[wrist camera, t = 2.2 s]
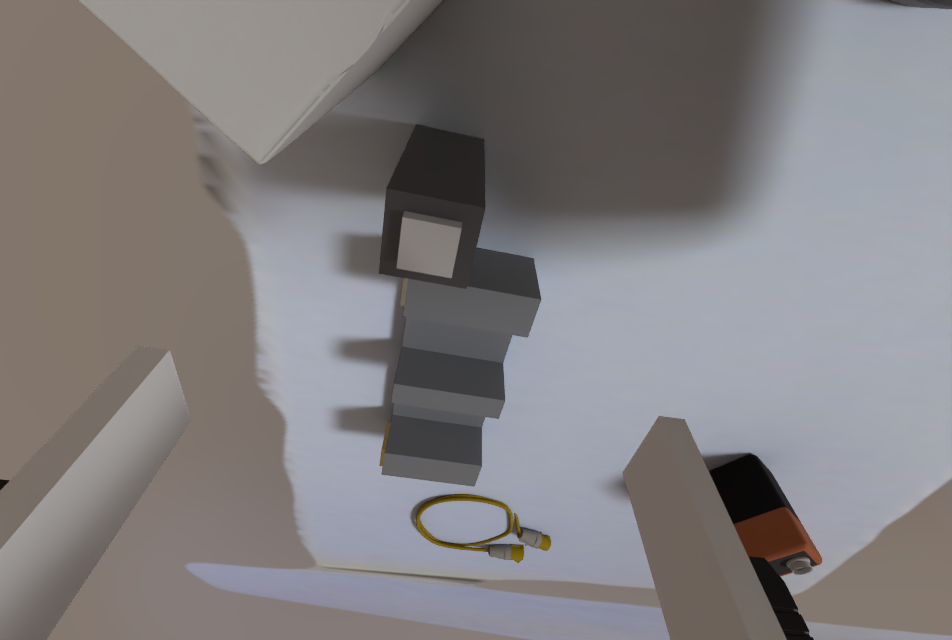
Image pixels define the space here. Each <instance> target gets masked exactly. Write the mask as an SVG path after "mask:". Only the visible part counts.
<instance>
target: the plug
mask: <svg viewBox="0 0 952 640" xmlns="http://www.w3.org/2000/svg"><path fill="white" fill-rule="evenodd" d="M484 211H485V151H484V139H480V138H476V137H471V136H466V135H462V134H457V133H453V132H448V131H444V130H439V129H435V128H430V127H425V126H421V125H416V126H415V128H414V131H413V133H412V135H411V137H410V139H409V141H408V143H407V146H406V148H405V150H404V152H403V154H402V156H401V158H400V161H399V163H398V165H397V167H396V169H395V171H394V173H393V176H392V178H391V180H390V182H389V184H388V186H387V189H386V200H385V211H384V223H383V234H382V245H381V257H380V268H379V273H380V274H385V275H391V276H396V277H402V278H407V279H413V280H419V281H424V282H430V283H435V284H441V285H446V286H452V287H458V288H463V289H467V285H468V280H469V276H470V272H471V268H472V263H473V259H474V255H475V250H476V246H477V242H478V237H479V233H480V229H481V224H482V220H483V216H484Z"/></svg>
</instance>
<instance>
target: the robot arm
mask: <svg viewBox="0 0 952 640" xmlns="http://www.w3.org/2000/svg"><path fill="white" fill-rule="evenodd" d="M890 1H893V2H896V3H899V4H902V5H907V6H913V7H921V8H941V9H952V0H890ZM190 422H191V418H190V415H189V412H188V408H187V405H186V402H185V398H184V395H183V392H182V389H181V385H180V382H179V379H178V376H177V372H176V369H175V366H174V362H173V359H172V356H171V353H170V350H166V349H158V348H151V347H144V346H137V347H136V348H135V349H134V350H133V351H132V352H131V353H130V354H129V355H128V356H127V357H126V359H125V360H124V361H123V362H122V363H121V364H120V365H119V366H118V367H117V368H116V369H115V370H114V371H113V372H112V373H111V374H110V375H109V376H108V378H106V380H105V381H104V382H103V383H102V384H101V385H100V386H99V387H98V388H97V389H96V390H95V391H94V392H93V393H92V394H91V395H90V396H89V398H88V399H87V400H86V401H85V402H84V403H83V404H82V405H81V406H80V407H79V408H78V409H77V410H76V411H75V412H74V413H73V414H72V415H71V417H70V418H69V419H68V420H67V421H66V422H65V423H64V424H63V425H62V426H61V427H60V428H59V429H58V430H57V431H56V432H55V433H54V434H53V436H52V437H51V438H50V439H49V440H48V441H47V442H46V443H45V444H44V445H43V446H42V447H41V448H40V449H39V450H38V451H37V452H36V453H35V455H34V456H33V457H32V458H31V459H30V460H29V461H28V462H27V463H26V464H25V465H24V466H23V467H22V468H21V469H20V470H19V471H18V473H17V474H16V475H15V476H14V477H13V478H12V479H11V480H0V640H47V638H48V637H49V635H50V634H51V632H52V631H53V629H54V628H55V626H56V624H57V623H58V622H59V620H60V619H61V617H62V616H63V614H64V613H65V611H66V610H67V608H68V607H69V605H70V603H71V602H72V600H73V599H74V597H75V596H76V594H77V593H78V591H79V590H80V588H81V587H82V585H83V584H84V582H85V580H86V579H87V578H88V576H89V575H90V573H91V572H92V570H93V569H94V567H95V566H96V564H97V563H98V561H99V560H100V558H101V557H102V555H103V554H104V552H105V551H106V549H107V548H108V546H109V544H110V543H111V542H112V540H113V539H114V537H115V536H116V534H117V532H118V531H119V529H120V528H121V526H122V525H123V523H124V522H125V520H126V519H127V517H128V516H129V514H130V513H131V511H132V510H133V508H134V507H135V505H136V504H137V502H138V501H139V499H140V498H141V496H142V495H143V493H144V492H145V490H146V489H147V487H148V485H149V484H150V483H151V481H152V480H153V478H154V477H155V475H156V474H157V472H158V471H159V469H160V467H161V466H162V464H163V463H164V461H165V460H166V458H167V457H168V455H169V454H170V452H171V451H172V449H173V448H174V446H175V445H176V443H177V442H178V440H179V439H180V437H181V436H182V434H183V433H184V431H185V430H186V428H187V427H188V425H189V424H190ZM623 476H624V479H625V483H626V486H627V490H628V493H629V497H630V500H631V504H632V507H633V511H634V514H635V518H636V521H637V525H638V528H639V532H640V535H641V539H642V542H643V546H644V549H645V553H646V556H647V559H648V563H649V566H650V570H651V573H652V577H653V580H654V584H655V587H656V590H657V594H658V598H659V601H660V605H661V608H662V612H663V615H664V619H665V622H666V626H667V629H668V632H669V636H670V639H671V640H814V639H813V637H810V635H809V632H810V631H809V630H808V628H807V626H806V624H805V622H804V620H803V618H802V616H801V615H800V614H799V613H798V608H797V606H796V604H795V602H794V600H793V598H792V596H791V594H790V592H789V590H788V588H787V586H786V584H785V582H784V581H783V580H782V578H781V577H780V576H779V575H778V574H777V572H776V571H775V570H774V569H773V567H772V566H771V565H770V564H769V563H768V561H767V560H766V559H765V558H761V557H751V556H748V555H747V553H746V551H745V549H744V546H743V544H742V542H741V540H740V538H739V536H738V534H737V531H736V529H735V527H734V525H733V523H732V521H731V518H730V516H729V514H728V512H727V510H726V508H725V506H724V503H723V501H722V499H721V497H720V495H719V493H718V490H717V488H716V486H715V484H714V482H713V480H712V478H711V475H710V473H709V471H708V469H707V467H706V465H705V463H704V460H703V458H702V456H701V454H700V452H699V450H698V447H697V445H696V443H695V441H694V439H693V437H692V435H691V432H690V430H689V428H688V426H687V424H686V422H685V419H678V418H670V417H663V416H659V417H658V418H657V420H656V422H655V423H654V425H653V426H652V428H651V429H650V431H649V432H648V434H647V436H646V437H645V439H644V440H643V442H642V443H641V445H640V446H639V448H638V450H637V451H636V453H635V454H634V456H633V457H632V459H631V460H630V462H629V464H628V465H627V467H626V468H625V470H624V471H623Z"/></svg>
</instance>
